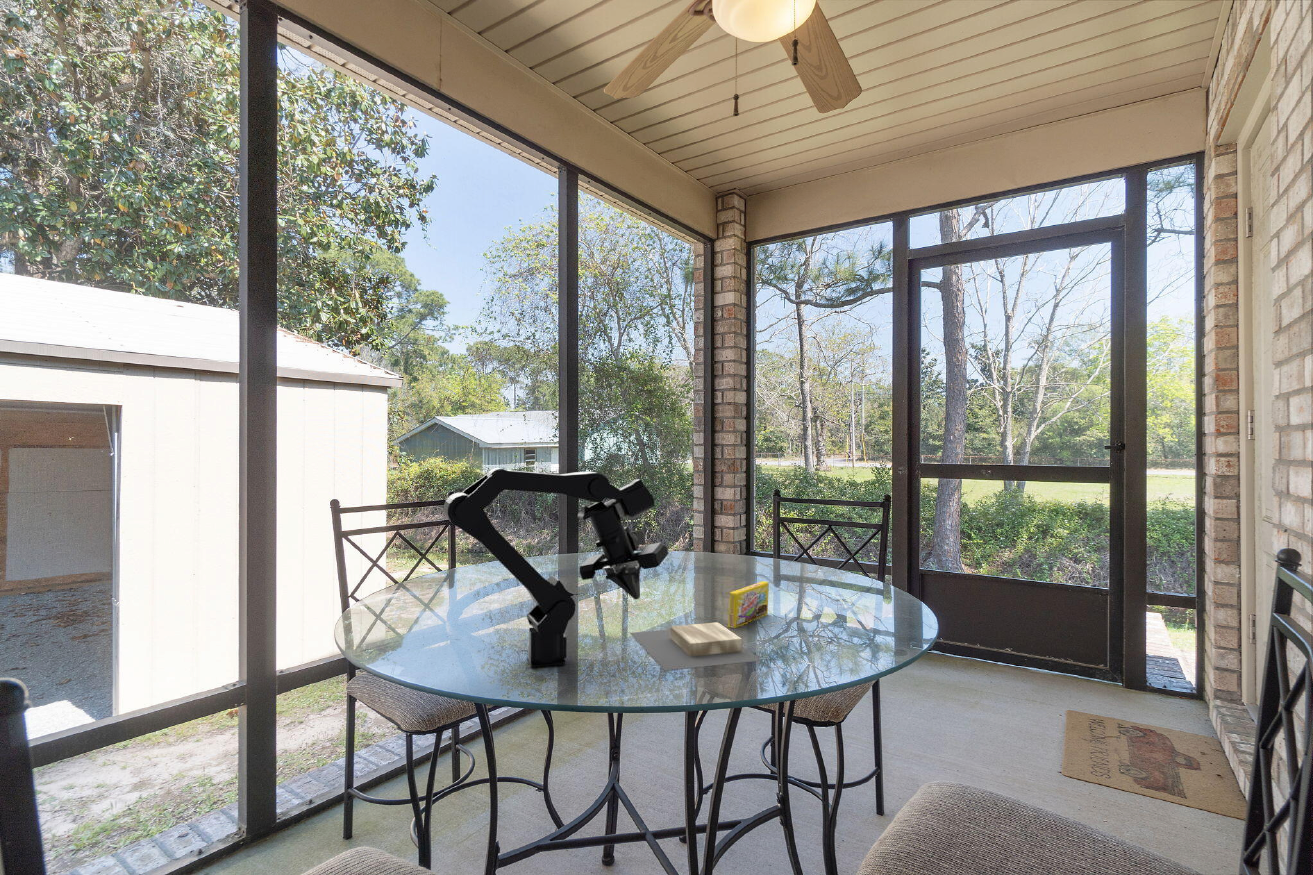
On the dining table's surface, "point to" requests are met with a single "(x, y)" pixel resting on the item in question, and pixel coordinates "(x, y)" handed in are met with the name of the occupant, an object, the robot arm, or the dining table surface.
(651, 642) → the mat
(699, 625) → the birch tile
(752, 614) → the candy box
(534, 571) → the robot arm
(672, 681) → the dining table surface
